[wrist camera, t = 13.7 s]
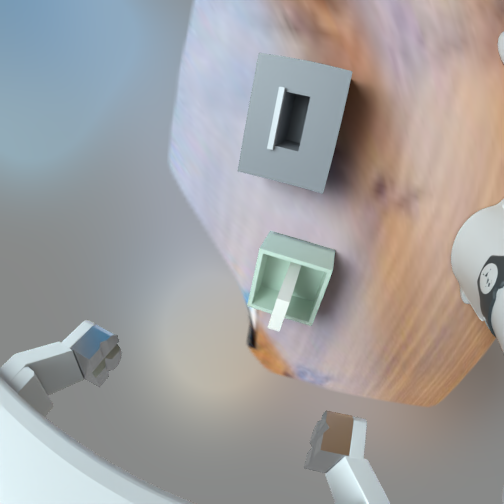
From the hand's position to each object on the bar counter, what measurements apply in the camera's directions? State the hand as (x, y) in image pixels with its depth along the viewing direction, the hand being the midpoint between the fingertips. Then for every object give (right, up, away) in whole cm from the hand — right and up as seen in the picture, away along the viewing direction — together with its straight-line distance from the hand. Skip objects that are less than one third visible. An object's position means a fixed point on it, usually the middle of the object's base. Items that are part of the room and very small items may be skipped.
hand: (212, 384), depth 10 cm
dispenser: (+8, +22, +27) cm, 36 cm away
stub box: (+8, +2, +37) cm, 38 cm away
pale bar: (+8, +2, +37) cm, 37 cm away
